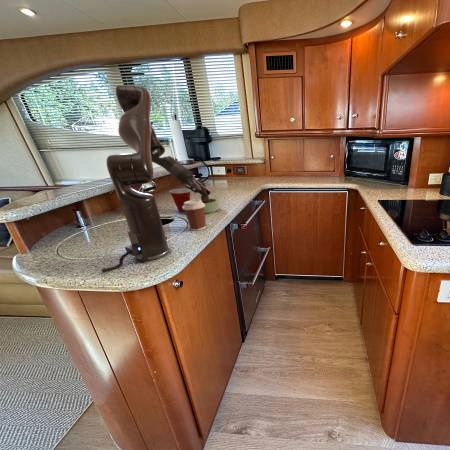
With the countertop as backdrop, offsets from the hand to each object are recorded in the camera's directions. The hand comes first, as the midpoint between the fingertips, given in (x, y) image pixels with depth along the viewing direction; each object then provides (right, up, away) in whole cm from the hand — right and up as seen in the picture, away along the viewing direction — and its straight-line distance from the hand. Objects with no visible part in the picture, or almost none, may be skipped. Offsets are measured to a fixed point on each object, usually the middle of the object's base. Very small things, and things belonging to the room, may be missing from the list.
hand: (207, 194), depth 128 cm
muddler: (-2, -6, +2) cm, 6 cm away
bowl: (-1, -9, +3) cm, 9 cm away
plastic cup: (-15, -9, +6) cm, 18 cm away
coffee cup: (+5, -18, -23) cm, 30 cm away
